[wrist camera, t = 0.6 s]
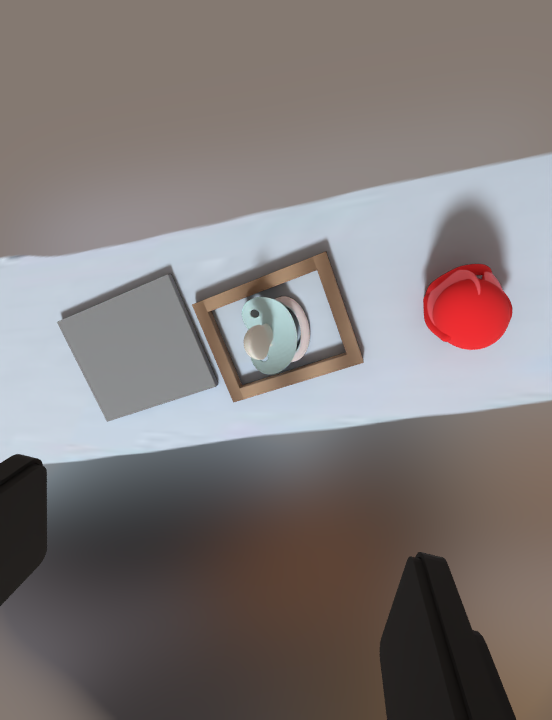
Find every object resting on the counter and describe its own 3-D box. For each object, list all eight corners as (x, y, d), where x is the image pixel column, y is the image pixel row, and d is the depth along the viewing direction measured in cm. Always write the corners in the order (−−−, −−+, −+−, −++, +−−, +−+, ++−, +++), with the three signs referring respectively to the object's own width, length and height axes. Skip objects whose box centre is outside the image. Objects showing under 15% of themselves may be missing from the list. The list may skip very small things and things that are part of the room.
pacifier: (303, 287, 36) (242, 298, 37) (296, 293, 30) (223, 307, 31) (315, 361, 37) (257, 370, 39) (311, 382, 31) (242, 391, 33)
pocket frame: (326, 251, 34) (325, 251, 33) (363, 359, 36) (363, 362, 35) (195, 303, 38) (191, 304, 37) (236, 398, 40) (233, 402, 39)
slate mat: (171, 273, 37) (167, 274, 37) (218, 383, 40) (215, 386, 39) (62, 320, 41) (57, 322, 40) (111, 418, 43) (107, 421, 43)
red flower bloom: (403, 280, 31) (422, 349, 29) (482, 244, 27) (510, 321, 25) (435, 305, 37) (453, 364, 35) (504, 278, 33) (527, 342, 31)
